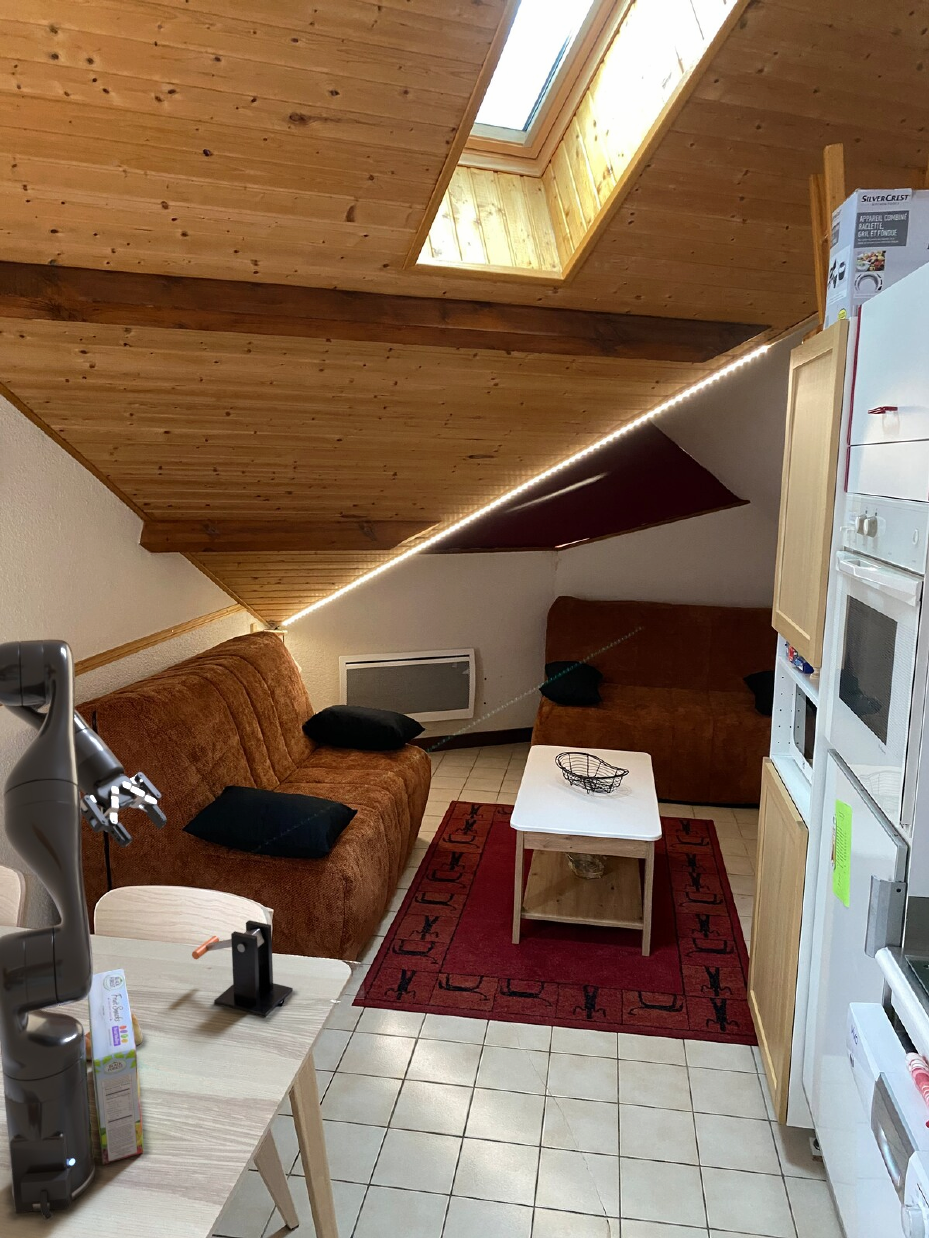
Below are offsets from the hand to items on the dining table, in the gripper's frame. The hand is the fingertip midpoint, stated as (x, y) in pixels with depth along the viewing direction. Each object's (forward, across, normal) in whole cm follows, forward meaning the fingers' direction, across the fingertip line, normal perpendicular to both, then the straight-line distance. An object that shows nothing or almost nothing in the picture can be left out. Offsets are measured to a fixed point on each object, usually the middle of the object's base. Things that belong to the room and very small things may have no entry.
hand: (146, 834), depth 153 cm
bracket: (+33, +1, +4) cm, 33 cm away
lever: (+24, +1, +1) cm, 24 cm away
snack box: (+31, -28, +6) cm, 42 cm away
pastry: (+24, -18, +14) cm, 33 cm away
